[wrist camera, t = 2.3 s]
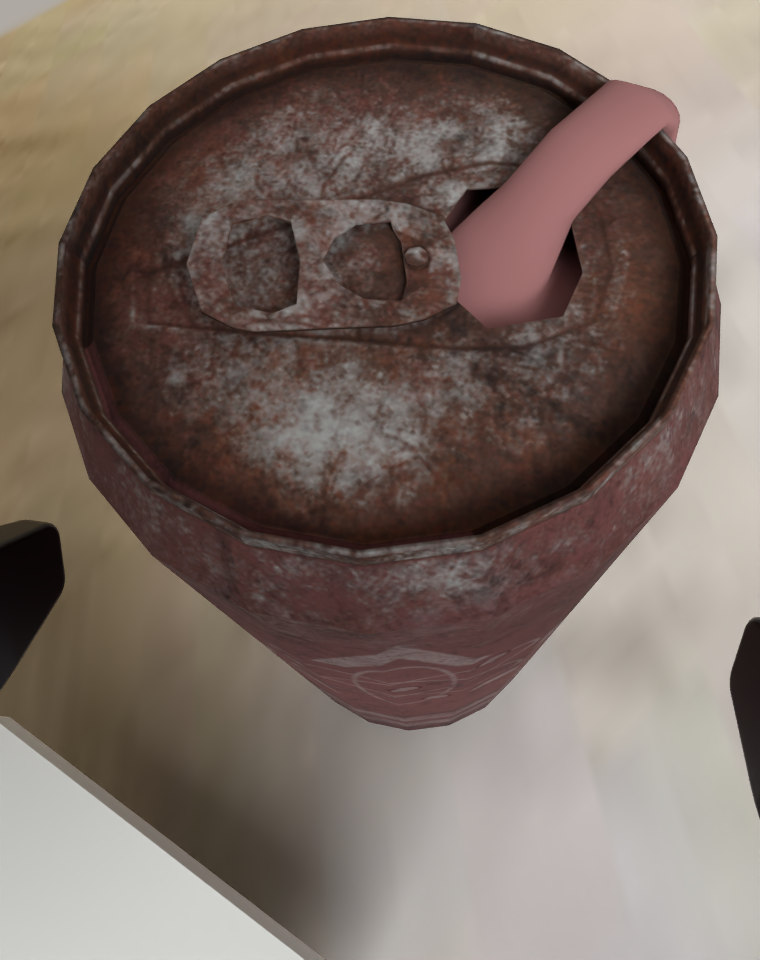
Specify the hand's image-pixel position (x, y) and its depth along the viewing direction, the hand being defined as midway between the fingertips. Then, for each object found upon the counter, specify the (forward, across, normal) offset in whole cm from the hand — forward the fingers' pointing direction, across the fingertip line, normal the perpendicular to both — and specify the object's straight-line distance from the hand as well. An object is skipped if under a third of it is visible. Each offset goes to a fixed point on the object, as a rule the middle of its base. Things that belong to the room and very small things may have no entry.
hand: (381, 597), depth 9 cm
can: (+8, 0, +5) cm, 10 cm away
